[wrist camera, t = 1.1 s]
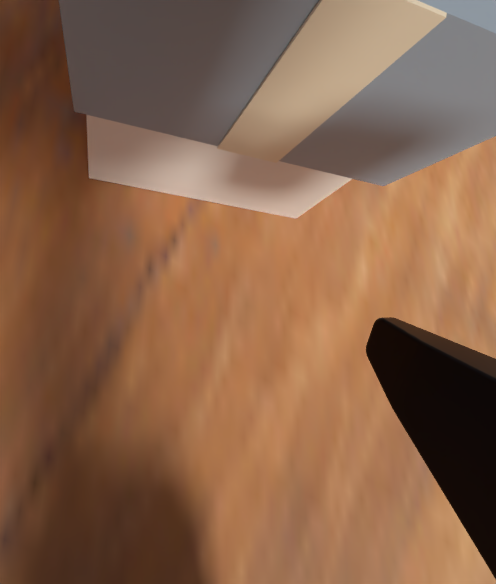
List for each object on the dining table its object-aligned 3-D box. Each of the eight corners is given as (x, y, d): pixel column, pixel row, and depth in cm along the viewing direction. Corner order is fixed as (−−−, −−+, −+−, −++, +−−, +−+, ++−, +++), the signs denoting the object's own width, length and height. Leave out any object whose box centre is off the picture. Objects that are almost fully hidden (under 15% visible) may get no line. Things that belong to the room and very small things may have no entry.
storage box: (296, 218, 26) (376, 161, 18) (88, 177, 22) (85, 85, 15) (301, 101, 27) (378, 4, 20) (107, 44, 23) (113, -103, 16)
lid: (384, 168, 18) (383, 188, 18) (77, 89, 14) (73, 114, 14) (614, 51, 10) (613, 87, 10) (44, -211, 6) (35, -154, 6)
